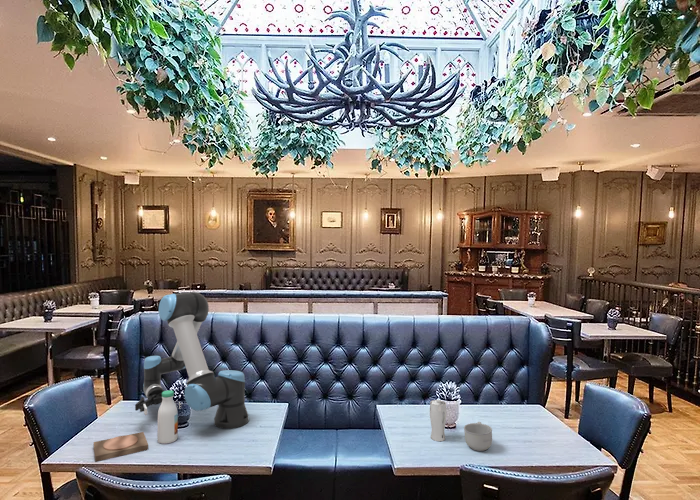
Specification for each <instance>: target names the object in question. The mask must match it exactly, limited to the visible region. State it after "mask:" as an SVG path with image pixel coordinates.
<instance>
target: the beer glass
mask: <svg viewBox="0 0 700 500" xmlns="http://www.w3.org/2000/svg"><path fill="white" fill-rule="evenodd" d="M447 410H448V409H447V403H446V401H444V400H440V399H433V400H431V401H430V402H429V419H430V425H431V433H430V439H431V440H432V441H435V442H444V441H445V440H446V434H445V433H446V432H445V427H446V422H447V417H448V416H447V412H448V411H447Z"/></svg>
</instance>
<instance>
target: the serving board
mask: <svg viewBox="0 0 700 500" xmlns="http://www.w3.org/2000/svg"><path fill="white" fill-rule="evenodd" d="M147 449H148V450H149V442H148V440H147V438H146V435H145V432H144V431H140V432H134V433H131V434H125V435H119V436H115V437H111V438H107V439H102V440H98V441H94V442H93V455H94V462H97V463H98V462H101V461H104V460H110V459H113V458H119V457H122V456H126V455H131V454H135V453H139V452H144V450H145V451H148V450H147Z"/></svg>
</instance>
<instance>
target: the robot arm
mask: <svg viewBox="0 0 700 500" xmlns="http://www.w3.org/2000/svg"><path fill="white" fill-rule="evenodd" d="M209 311H210V308H209V302H208V299H206V297H205V296H204V295H203V294H201V293H199V292H196V291H191V292H183V293H182V292H181V293H171V294H165V295H163V297H162V298H161V300H160V301H159V304H158V316H159V318H160V320H162V321H163V322H167V325H168V327H170V328H172V329H173V332H174V335H175V338H176V343H175V346H174V348H173V350H172V353H171V354H170V356H168V357H164V358H162V357H161V356H160V355H150V356H146V357H145V358H144V363H143V376H144V377H143V378H144V379H143V385H142V386H143V387H142V392H143V393H144V395H145V396H146V397H145V396H142V397H140V399H139V400H138V401H137V402H136V403H135V404H134V406H135V407H134V408H135V409H134V410H135V411H139V412H140V413H144V415H145V416H148V407H150V406H156V405H161V403H162V392H164V391H165V390H164V389H163V387H162V385H161V383H162V381H161V380H162V375H164V374H169V373H172V372H177V371H181V370H184V369H186V373H187V376H188V379H187V381H186V387H185V388H184V394H183V396H184V401H185V402H186V405H188V407H189V408H190V409H191V410H193V411H197V412H199V411H200V412H201V411H203V410H208V409H209V408H213V407H215V406H217V408H216V409H217V410H216V413H215V415H214V421H213V424H214V426H215V427H216V428H219V429H229V430H230V429H236V428H241V427H243V426H245V425H246V424H248V422H249V413H248V410H247V407H246V403H245V402H246V401H245V399H246V395H245V393H246V391H245V390H246V388H245V387H246V386H245V385H246V379H245V374H244V372H242V371H240V370H231V369H225V370H224V369H223V370H220V371H219V372H218V374H217V375H218V376H217V377H216V376H215V373H214V371H213V370H210V369H209V367H208V364H207V361H206V357H205V354H204V352H203V349H202V345H201V343H200V340H199V337H198V333H199V330H200V328H201V325H202V323H204V322H206V320H207V317H208V314H209ZM180 405H181V406H180ZM180 407H181V408H180ZM178 409H179V410H180V409H182V404H181V403H180V402H179V408H178Z"/></svg>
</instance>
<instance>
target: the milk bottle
mask: <svg viewBox="0 0 700 500" xmlns="http://www.w3.org/2000/svg"><path fill="white" fill-rule="evenodd" d="M174 394H175V392H174V390H173V389H172V390H164V392H162V403H160V404H159V408H158V412H157V429H156V430H157V435H156V436H157V438H156V439H157V442H158V444H163V445H164V444H171V443H174V442H175V441H177V439H178V436H179V434H178V430H179V426H178V425H179V419H178V418H179V417H178V416H179V415H178V406H177V405H176V403H175V402H174V400H173V397H174Z"/></svg>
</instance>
